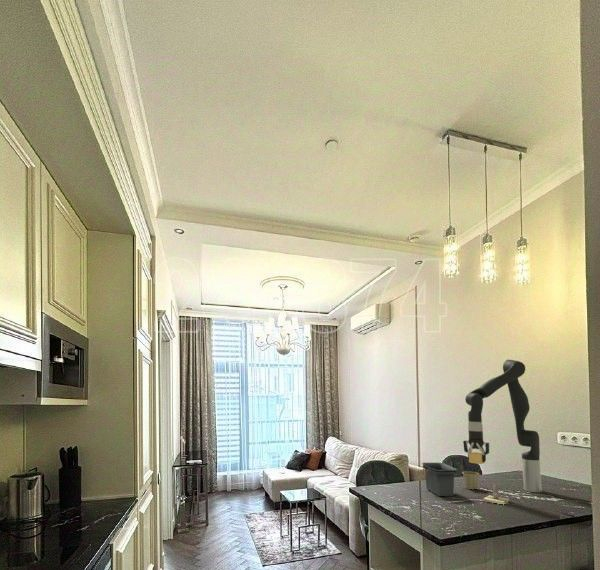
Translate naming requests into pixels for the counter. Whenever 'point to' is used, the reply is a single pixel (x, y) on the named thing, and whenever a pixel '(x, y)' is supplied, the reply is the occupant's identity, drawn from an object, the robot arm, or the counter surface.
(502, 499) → the post stand
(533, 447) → the robot arm
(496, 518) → the counter surface
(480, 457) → the ring
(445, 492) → the storage bin
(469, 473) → the flower pot
